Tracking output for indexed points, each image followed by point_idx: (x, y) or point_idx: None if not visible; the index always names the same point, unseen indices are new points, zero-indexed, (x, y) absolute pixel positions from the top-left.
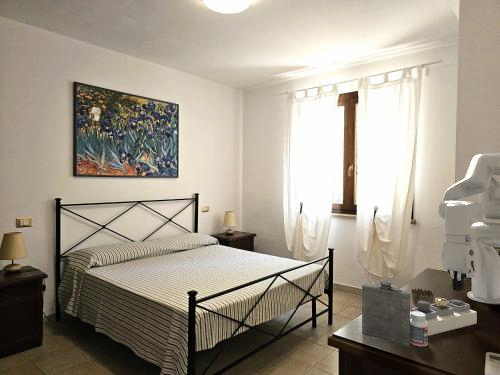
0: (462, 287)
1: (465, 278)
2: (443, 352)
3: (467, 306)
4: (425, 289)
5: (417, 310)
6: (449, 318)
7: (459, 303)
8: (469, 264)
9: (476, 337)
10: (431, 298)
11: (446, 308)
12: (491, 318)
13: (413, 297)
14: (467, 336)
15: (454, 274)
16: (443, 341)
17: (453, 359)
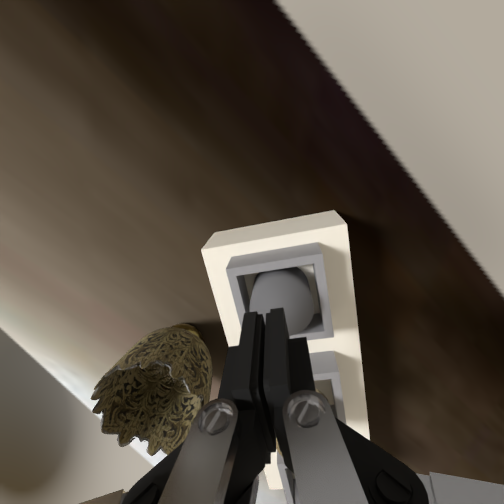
0: (309, 355)
1: (347, 425)
2: (460, 467)
3: (324, 270)
4: (108, 375)
5: (290, 479)
6: (364, 396)
7: (310, 319)
8: None
9: (433, 316)
10: (205, 388)
11: (327, 399)
12: (305, 72)
13: (161, 424)
14: (414, 339)
15: (230, 492)
16: (409, 426)
17: (501, 471)
